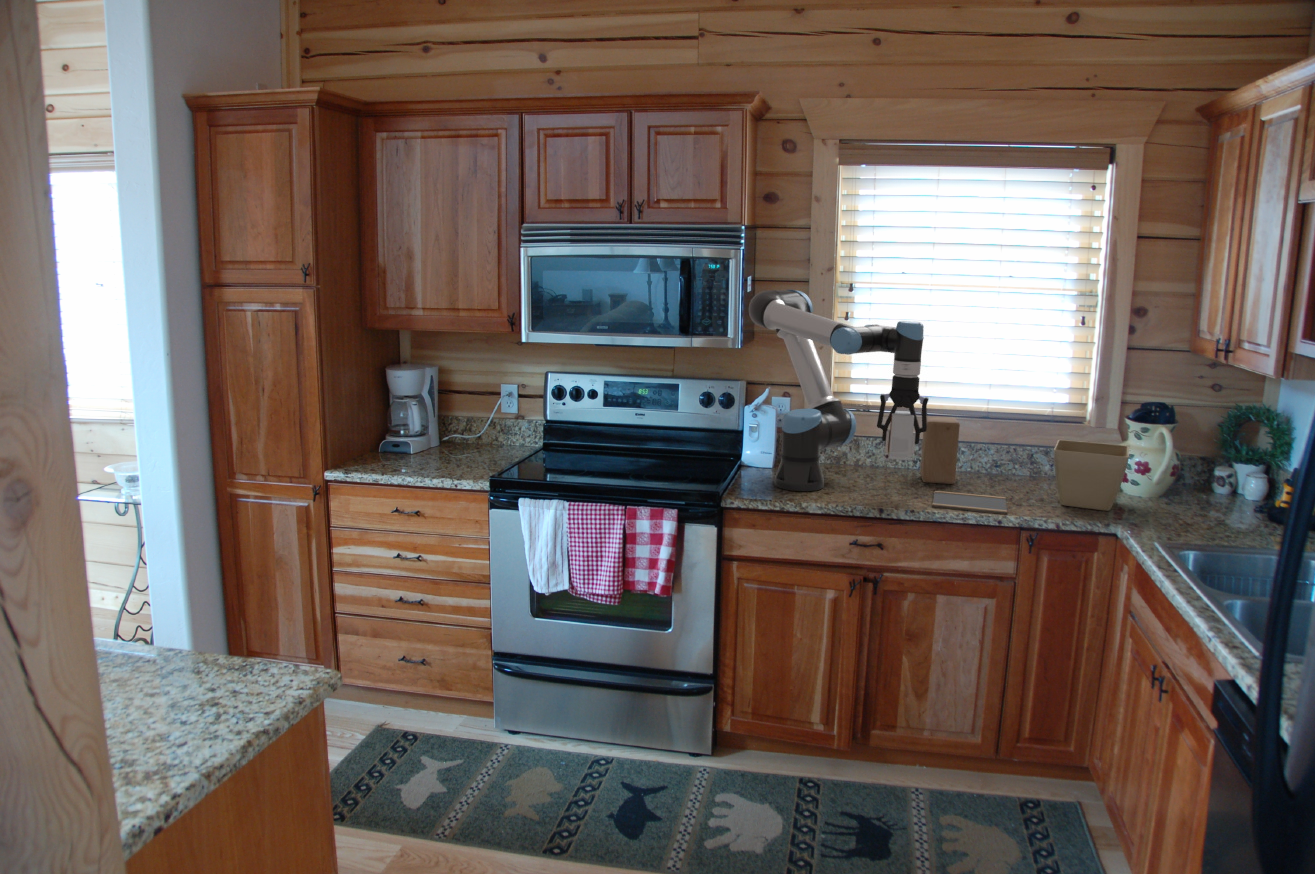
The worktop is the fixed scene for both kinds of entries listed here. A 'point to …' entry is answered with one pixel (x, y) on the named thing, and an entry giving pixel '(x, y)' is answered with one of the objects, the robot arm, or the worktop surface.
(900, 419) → the small box
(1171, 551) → the worktop surface
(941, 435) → the wooden block
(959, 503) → the grey flat board
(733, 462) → the worktop surface
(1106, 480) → the flower pot
